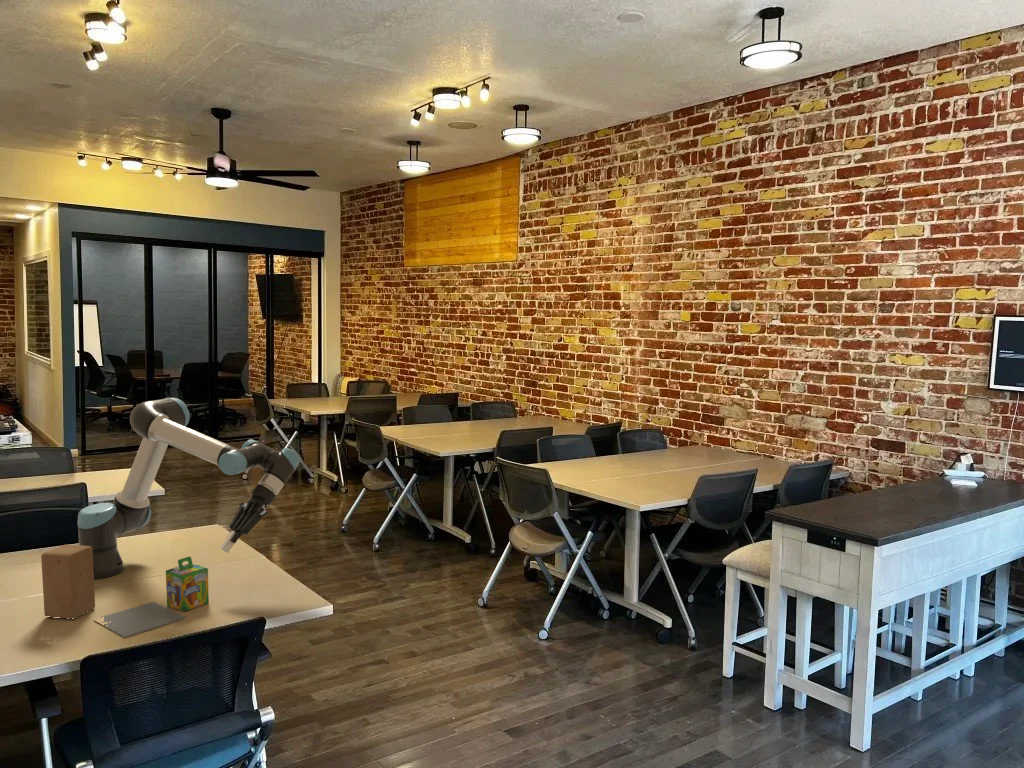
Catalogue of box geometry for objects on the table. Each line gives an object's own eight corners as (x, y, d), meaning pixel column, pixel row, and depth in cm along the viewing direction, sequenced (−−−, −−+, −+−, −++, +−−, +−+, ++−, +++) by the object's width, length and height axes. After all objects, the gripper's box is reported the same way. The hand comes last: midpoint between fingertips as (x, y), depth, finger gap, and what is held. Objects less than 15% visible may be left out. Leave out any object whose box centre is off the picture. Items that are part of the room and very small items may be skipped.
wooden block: (72, 621, 226) (68, 555, 224) (43, 618, 228) (39, 553, 226) (96, 608, 236) (93, 545, 234) (68, 606, 238) (65, 543, 236)
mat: (93, 620, 227) (93, 619, 227) (153, 602, 241) (153, 601, 240) (124, 638, 214) (124, 636, 214) (186, 618, 228) (186, 617, 228)
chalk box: (184, 612, 233) (182, 565, 231) (165, 606, 237) (163, 560, 236) (210, 603, 240) (208, 557, 239) (192, 597, 245) (190, 552, 244)
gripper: (285, 498, 256) (242, 560, 245) (263, 493, 265) (220, 552, 253) (271, 486, 252) (227, 547, 240) (248, 481, 260) (204, 540, 248)
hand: (223, 550), depth 247 cm, fingers closed
